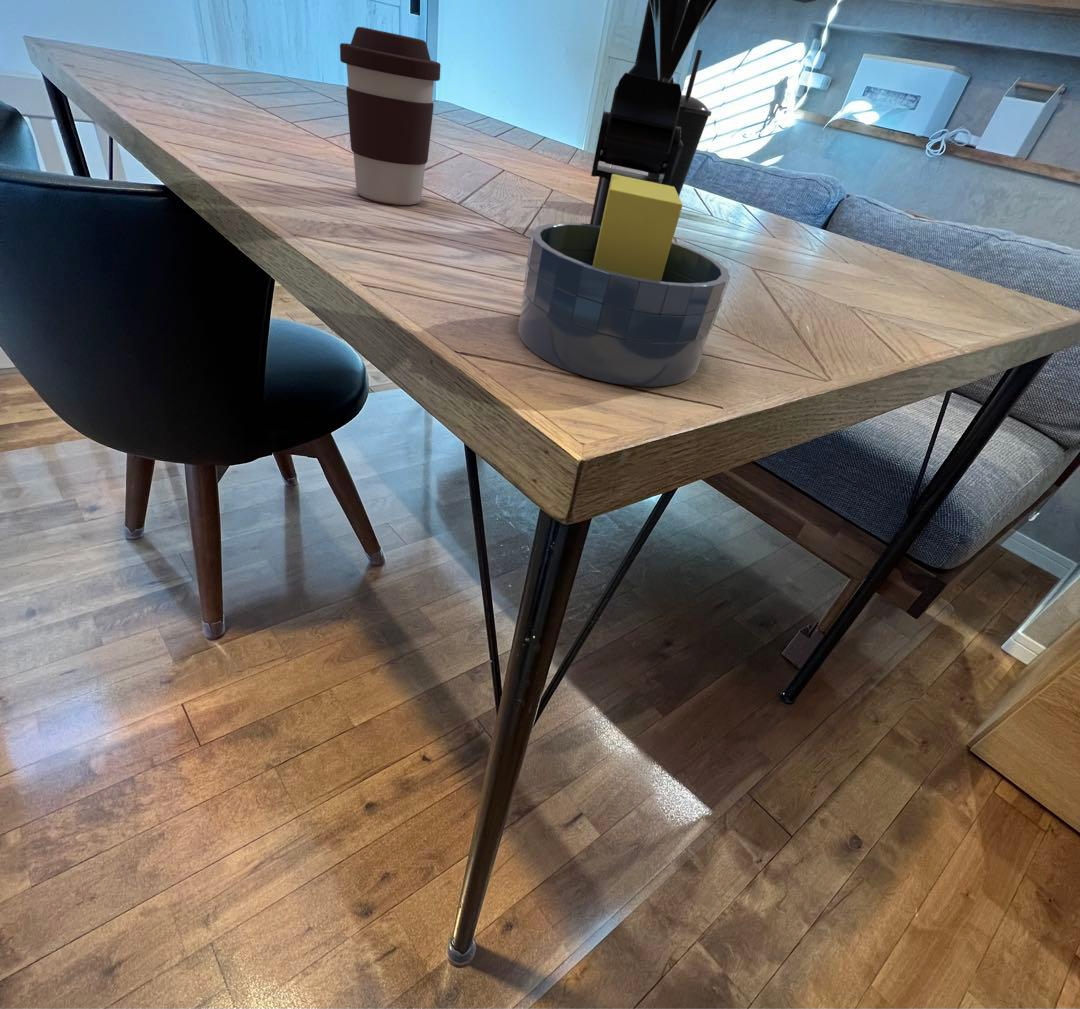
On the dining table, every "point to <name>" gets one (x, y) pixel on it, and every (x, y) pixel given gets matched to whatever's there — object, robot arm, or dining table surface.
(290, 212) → the dining table surface
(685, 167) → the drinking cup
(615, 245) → the sponge
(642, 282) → the bowl
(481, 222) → the dining table surface
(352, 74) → the coffee cup
